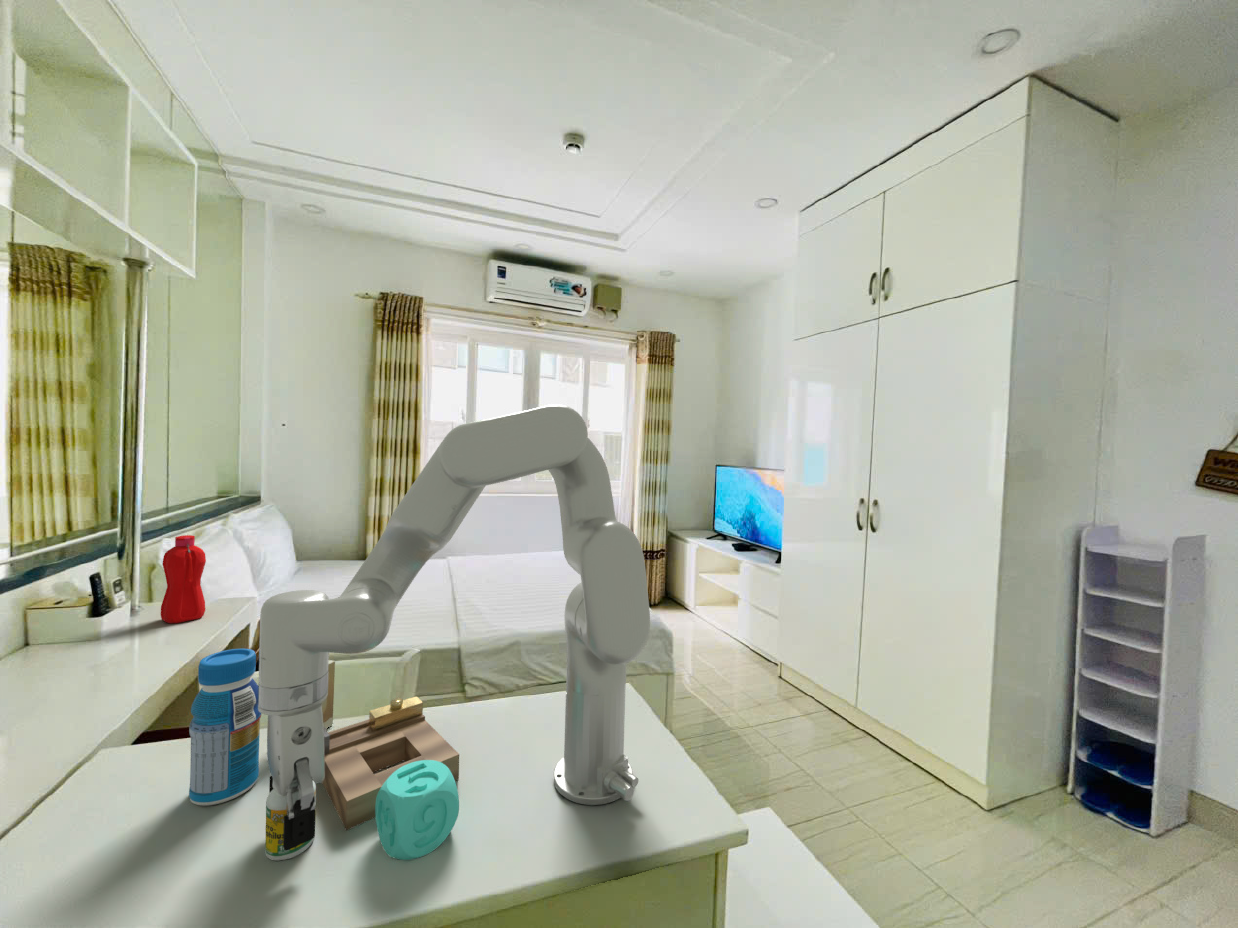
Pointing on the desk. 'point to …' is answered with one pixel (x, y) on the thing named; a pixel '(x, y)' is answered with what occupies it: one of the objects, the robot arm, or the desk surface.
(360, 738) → the socket block
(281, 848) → the supplement bottle
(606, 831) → the desk surface
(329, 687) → the skincare box
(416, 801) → the decorative dice
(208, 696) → the beverage bottle
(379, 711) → the latch bar
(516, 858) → the desk surface
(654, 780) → the desk surface
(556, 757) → the desk surface
